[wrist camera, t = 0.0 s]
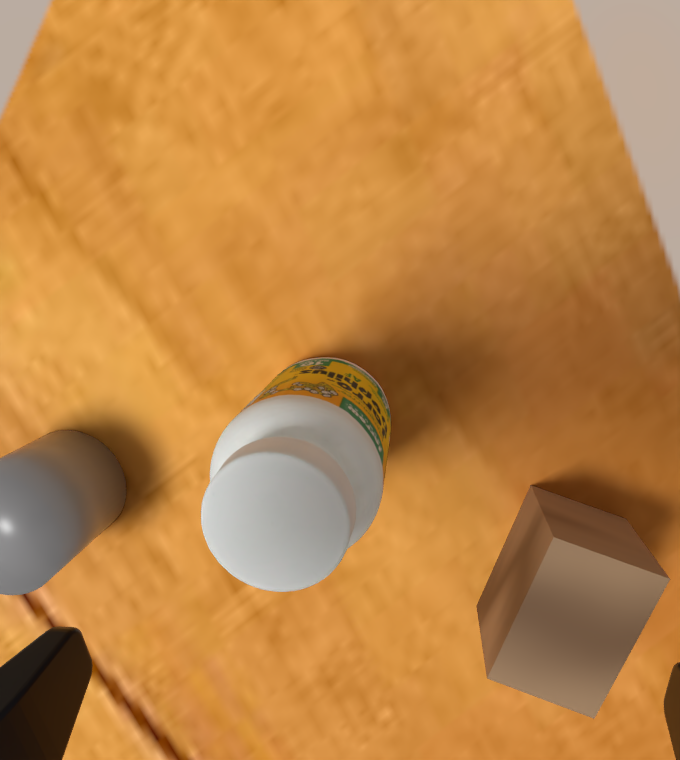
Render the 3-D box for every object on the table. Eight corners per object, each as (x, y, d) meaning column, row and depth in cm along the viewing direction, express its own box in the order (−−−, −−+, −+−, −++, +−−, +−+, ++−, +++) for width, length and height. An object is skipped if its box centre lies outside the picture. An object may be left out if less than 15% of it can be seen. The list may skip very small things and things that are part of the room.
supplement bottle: (242, 433, 25) (138, 544, 16) (306, 328, 24) (233, 383, 15) (348, 501, 25) (306, 652, 16) (419, 400, 24) (417, 501, 15)
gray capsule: (90, 553, 28) (20, 619, 23) (5, 486, 27) (-85, 539, 23) (147, 477, 26) (85, 530, 22) (57, 407, 26) (-26, 445, 21)
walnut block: (565, 637, 25) (594, 718, 21) (476, 604, 26) (487, 678, 21) (625, 517, 24) (669, 579, 20) (530, 484, 24) (553, 537, 20)
